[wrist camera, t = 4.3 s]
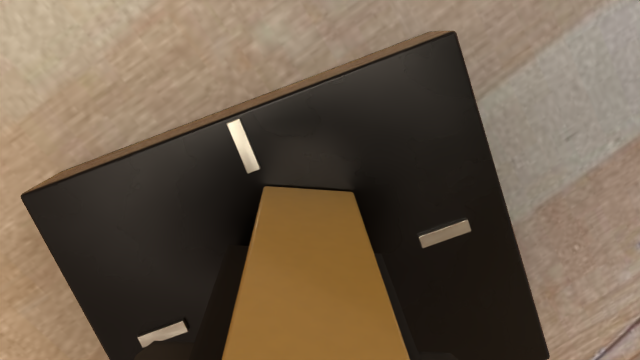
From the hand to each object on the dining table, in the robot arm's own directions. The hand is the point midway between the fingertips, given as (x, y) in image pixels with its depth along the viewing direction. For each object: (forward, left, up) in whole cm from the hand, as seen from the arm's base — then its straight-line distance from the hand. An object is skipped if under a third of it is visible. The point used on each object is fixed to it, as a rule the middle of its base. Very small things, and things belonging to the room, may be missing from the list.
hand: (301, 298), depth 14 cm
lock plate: (0, 0, -4) cm, 4 cm away
